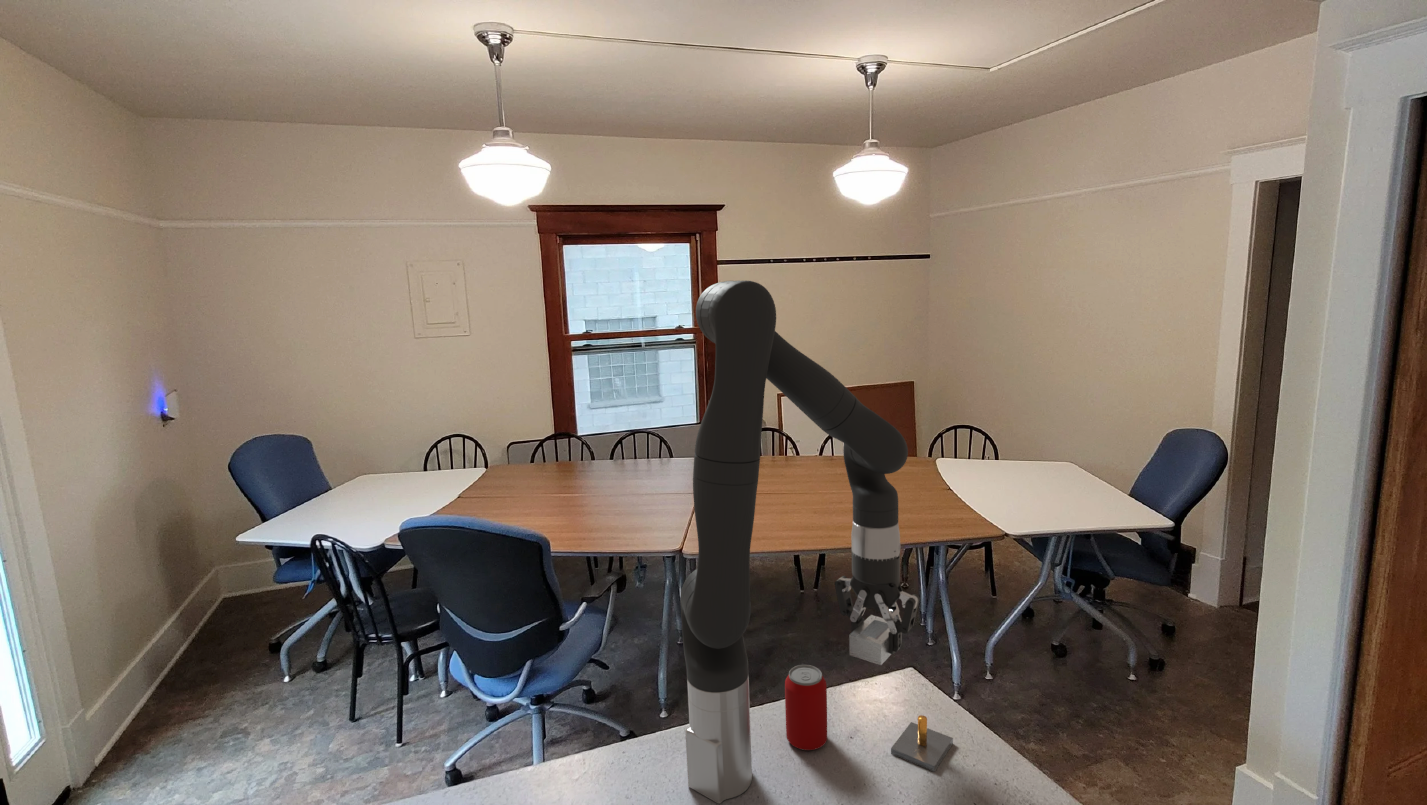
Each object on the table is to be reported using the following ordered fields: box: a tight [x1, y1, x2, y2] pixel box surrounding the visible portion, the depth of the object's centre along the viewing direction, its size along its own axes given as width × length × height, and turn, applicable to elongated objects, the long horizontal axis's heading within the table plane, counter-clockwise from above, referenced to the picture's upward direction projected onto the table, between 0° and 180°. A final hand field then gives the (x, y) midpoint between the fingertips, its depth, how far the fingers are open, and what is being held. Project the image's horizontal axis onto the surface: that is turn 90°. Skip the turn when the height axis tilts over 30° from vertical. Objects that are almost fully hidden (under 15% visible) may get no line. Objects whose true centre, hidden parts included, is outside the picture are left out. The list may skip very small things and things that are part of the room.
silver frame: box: [848, 614, 903, 666], centre depth 109 cm, size 8×5×4 cm
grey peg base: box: [890, 714, 954, 773], centre depth 107 cm, size 8×7×5 cm
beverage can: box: [784, 664, 828, 751], centre depth 109 cm, size 7×7×12 cm
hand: (876, 646), depth 109 cm, fingers closed on silver frame, 5 cm apart
